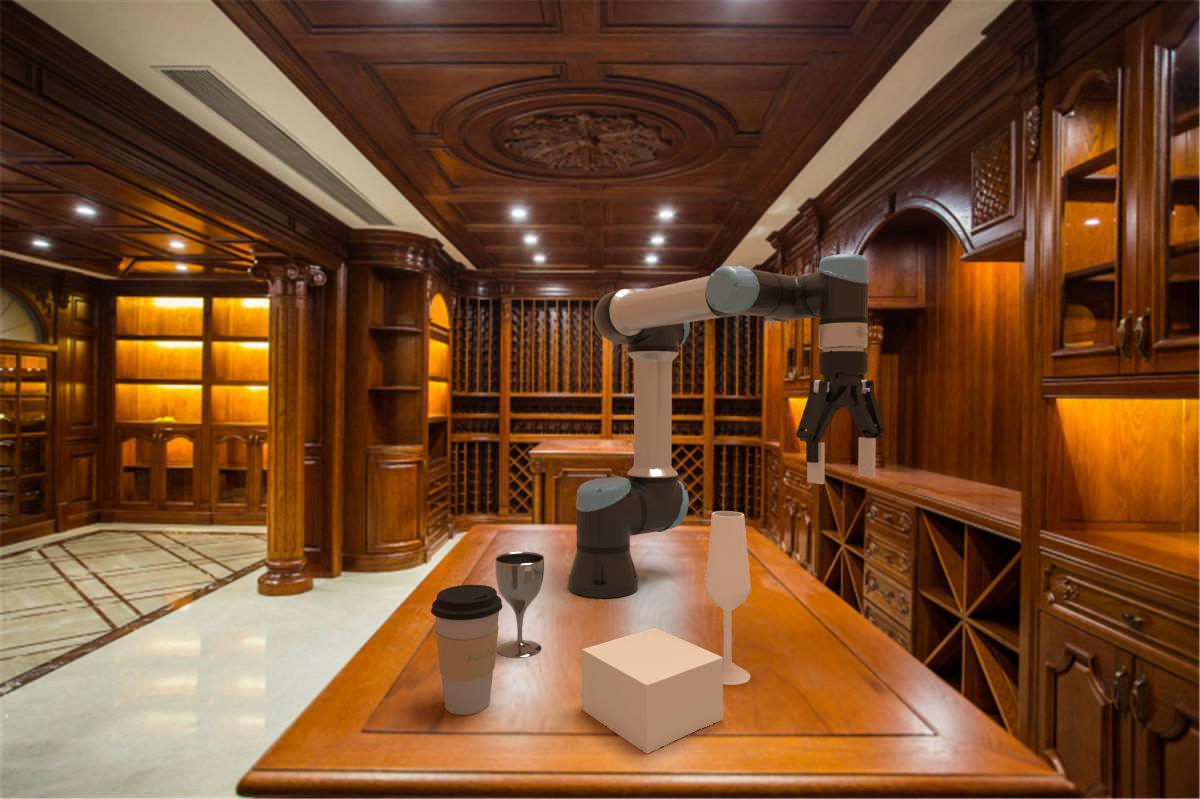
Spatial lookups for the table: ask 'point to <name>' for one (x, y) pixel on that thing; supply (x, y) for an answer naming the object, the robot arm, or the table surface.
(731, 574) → the champagne flute
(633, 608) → the table surface
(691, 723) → the riser
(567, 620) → the table surface
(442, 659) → the coffee cup
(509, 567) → the wine glass
